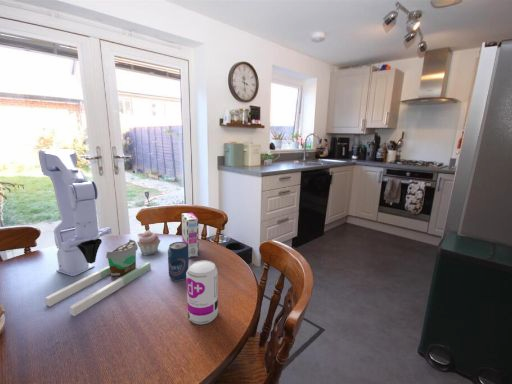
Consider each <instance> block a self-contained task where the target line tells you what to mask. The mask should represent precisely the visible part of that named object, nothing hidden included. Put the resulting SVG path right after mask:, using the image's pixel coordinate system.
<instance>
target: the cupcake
mask: <svg viewBox="0 0 512 384" xmlns="http://www.w3.org/2000/svg"><path fill="white" fill-rule="evenodd" d="M161 241H162V240H161V239H160V238H159V236H158V235H157V234H156V233H155V232H153V231H151V230H150V229H147V230H145V231H144V232H143V233H142V234H141V235H140V237H139V239H138V241H137V242H136V244H137V246H138V248H139V250H140V252H141V255H145V256H151V255H154V254H156V253H157V252H158V251H159V250H158V249H159V245H160V243H161Z"/></svg>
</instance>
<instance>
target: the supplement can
mask: <svg viewBox="0 0 512 384" xmlns="http://www.w3.org/2000/svg"><path fill="white" fill-rule="evenodd" d="M218 272H219V271H218V269H217V266H216V264H215V263H214V262H213V261H211V260H197V261H193V262H192V263H189V268H188V270H187V272H186V299H187V301H186V302H187V318H188V320H189V321H190V322H192V323H193V324H195V325H206V324H209V323H211V322H212V321H214V320H215V319H216V317H217V316H218V313H219V303H218V302H219V291H218V288H219V287H218V286H219V285H218V284H219V283H218V282H219V281H218V280H219V279H218Z"/></svg>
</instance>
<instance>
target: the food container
mask: <svg viewBox="0 0 512 384" xmlns="http://www.w3.org/2000/svg"><path fill="white" fill-rule="evenodd" d="M138 249H139V246H138V244H137V242H136V241H135V240H133V239H128V242H126V243H125V244H123V245H119V246H118V247H117V248H115V249H114V250H113V251H107V252H106V256H105V257H106V259H107V262H108V266H110V271H111V274H110V275H111V278H120V277H122V276H124V275H126V274H127V273H129V272H131V271H133V270H134V269H136V268H137V251H138Z"/></svg>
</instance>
